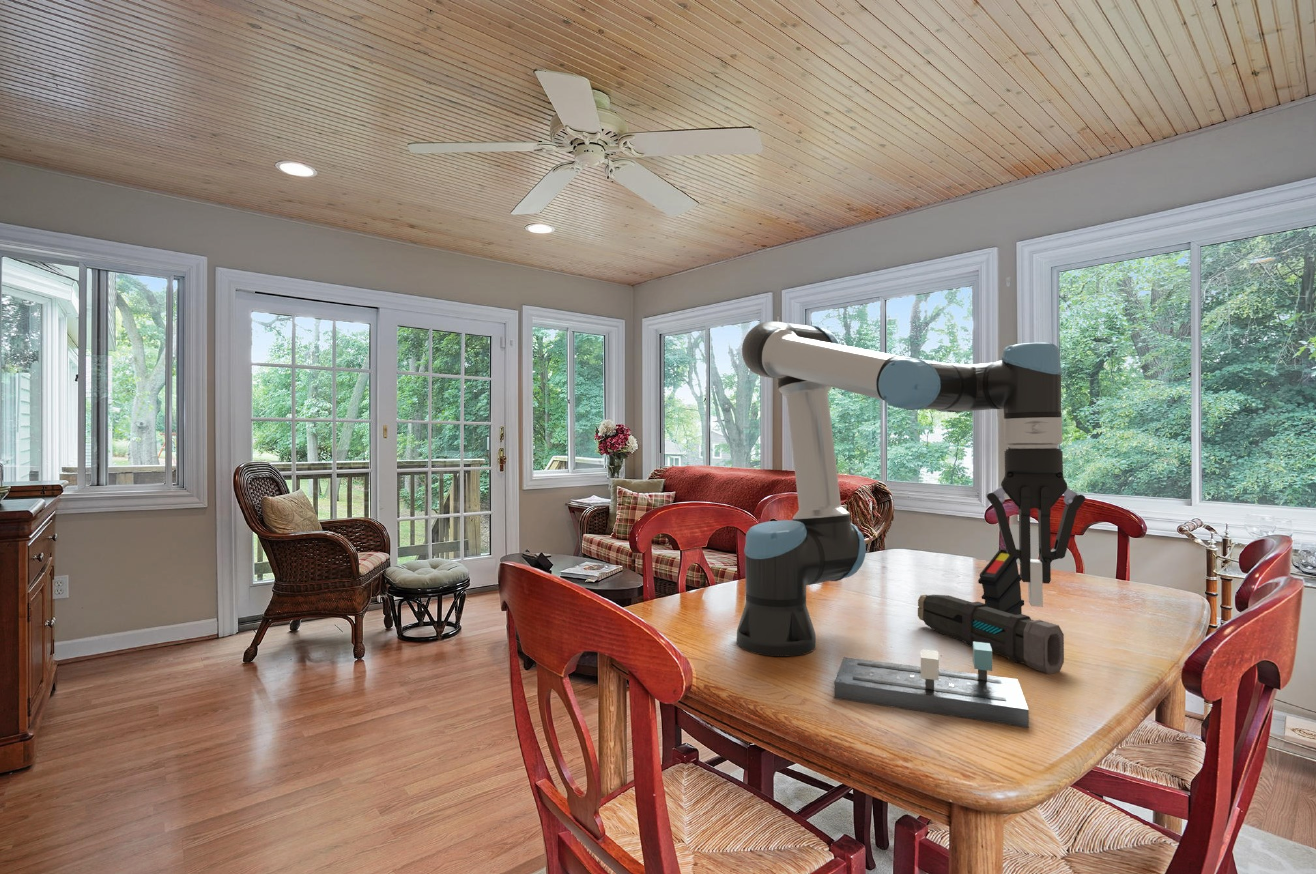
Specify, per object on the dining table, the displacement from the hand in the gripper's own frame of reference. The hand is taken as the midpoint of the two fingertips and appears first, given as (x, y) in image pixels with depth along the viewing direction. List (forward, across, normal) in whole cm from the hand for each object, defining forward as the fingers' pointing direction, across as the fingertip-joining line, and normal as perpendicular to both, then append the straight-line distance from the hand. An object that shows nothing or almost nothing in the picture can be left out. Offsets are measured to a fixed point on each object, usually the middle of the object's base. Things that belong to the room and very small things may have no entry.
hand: (1035, 604), depth 94 cm
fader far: (+12, -7, 0) cm, 14 cm away
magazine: (+15, 0, +48) cm, 50 cm away
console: (+15, -15, -3) cm, 22 cm away
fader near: (+12, -15, -7) cm, 20 cm away
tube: (+15, -6, +26) cm, 31 cm away
